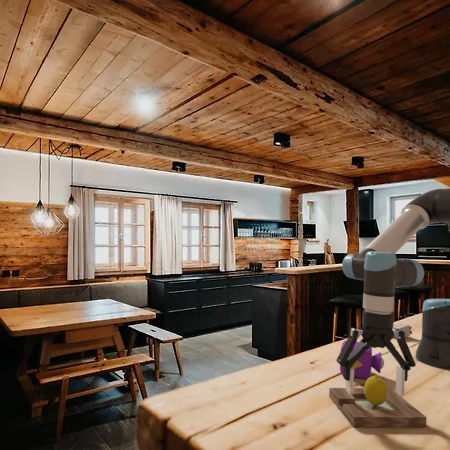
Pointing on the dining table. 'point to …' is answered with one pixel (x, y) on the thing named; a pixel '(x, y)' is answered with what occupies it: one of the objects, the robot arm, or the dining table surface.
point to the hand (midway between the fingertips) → (374, 392)
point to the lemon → (375, 390)
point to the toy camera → (365, 363)
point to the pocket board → (376, 410)
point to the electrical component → (403, 328)
